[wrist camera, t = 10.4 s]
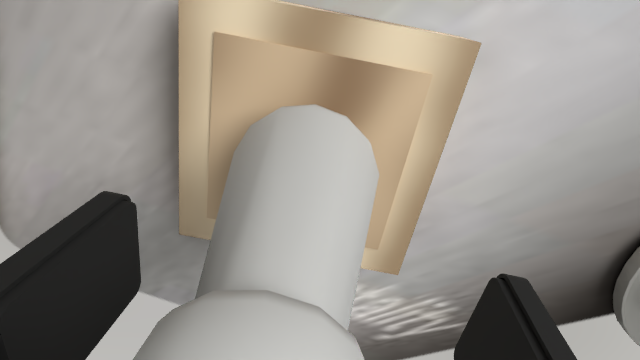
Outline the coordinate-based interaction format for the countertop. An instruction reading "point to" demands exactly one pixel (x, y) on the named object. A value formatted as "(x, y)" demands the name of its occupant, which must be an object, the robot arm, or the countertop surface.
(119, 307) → the robot arm
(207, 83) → the base board
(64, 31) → the countertop surface
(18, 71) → the countertop surface
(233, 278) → the salt shaker
